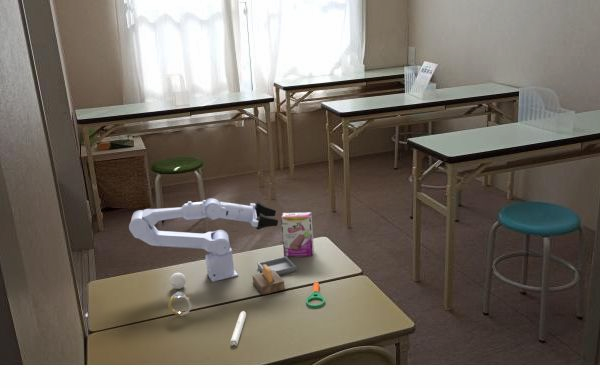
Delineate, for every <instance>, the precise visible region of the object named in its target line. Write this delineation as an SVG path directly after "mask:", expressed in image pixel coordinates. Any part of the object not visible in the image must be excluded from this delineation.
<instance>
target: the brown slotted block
mask: <svg viewBox="0 0 600 388" xmlns="http://www.w3.org/2000/svg"><path fill="white" fill-rule="evenodd" d="M251 277H252V283H253V285H254V286H255V287H256V289H257V290H258V292H259V293H260V294H261V295H262V296H264V295H267V294H271V293H274V292H279V291H283V290H284V291H285V289H286V287H285V280H284V279H283V278H282V277H281V275H278V274H277V273H276V272H275V271H274V270H272V280H273V282H272V283H268V282H267V281H266V280H265V278H264V275H263V273H262V272H261V273H260V272H259V273H257V274H256V273H255V274H253V275H252V276H251Z"/></svg>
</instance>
